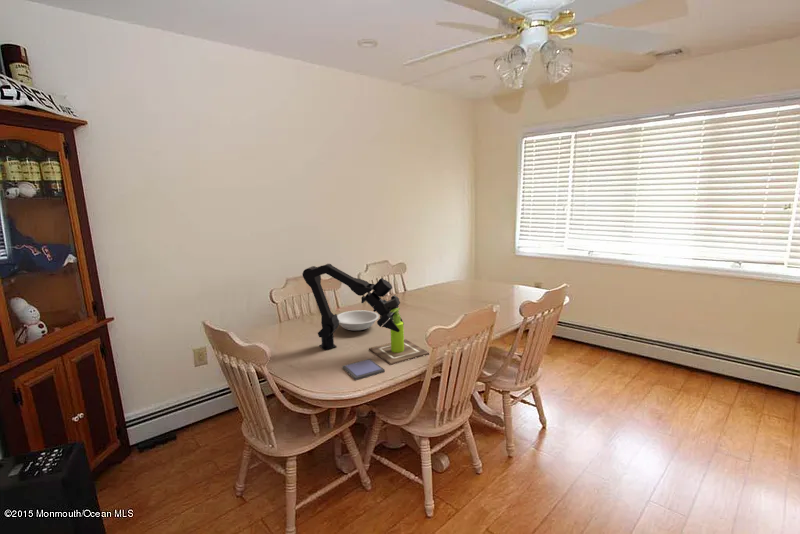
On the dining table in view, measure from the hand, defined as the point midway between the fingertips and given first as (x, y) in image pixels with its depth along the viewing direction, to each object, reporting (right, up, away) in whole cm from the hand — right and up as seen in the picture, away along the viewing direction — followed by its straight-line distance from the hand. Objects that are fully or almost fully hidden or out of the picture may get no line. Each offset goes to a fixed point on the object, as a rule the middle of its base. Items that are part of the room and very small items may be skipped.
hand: (401, 327), depth 179 cm
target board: (-1, -11, +2) cm, 12 cm away
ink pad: (-16, -15, -15) cm, 27 cm away
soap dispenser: (-2, -11, +2) cm, 11 cm away
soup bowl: (-24, -6, +35) cm, 43 cm away
